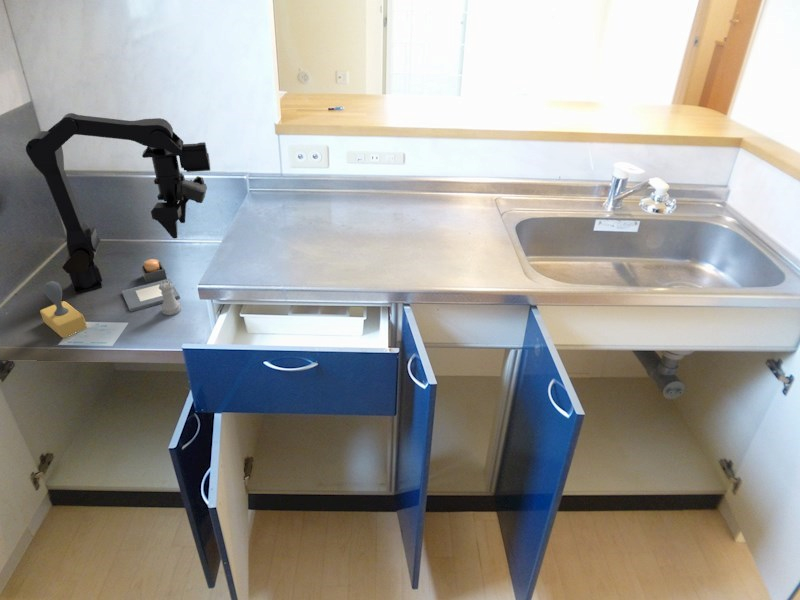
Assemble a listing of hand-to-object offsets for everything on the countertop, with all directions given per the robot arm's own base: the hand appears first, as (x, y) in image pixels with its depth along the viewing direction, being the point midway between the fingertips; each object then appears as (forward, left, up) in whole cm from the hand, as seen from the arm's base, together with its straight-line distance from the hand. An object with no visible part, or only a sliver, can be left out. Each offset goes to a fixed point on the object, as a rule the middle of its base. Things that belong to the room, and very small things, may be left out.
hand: (179, 230), depth 147 cm
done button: (-8, +3, -11) cm, 14 cm away
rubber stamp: (-31, -9, -14) cm, 35 cm away
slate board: (-11, -6, -13) cm, 18 cm away
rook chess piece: (-9, -16, -13) cm, 23 cm away
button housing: (-8, +3, -13) cm, 16 cm away
